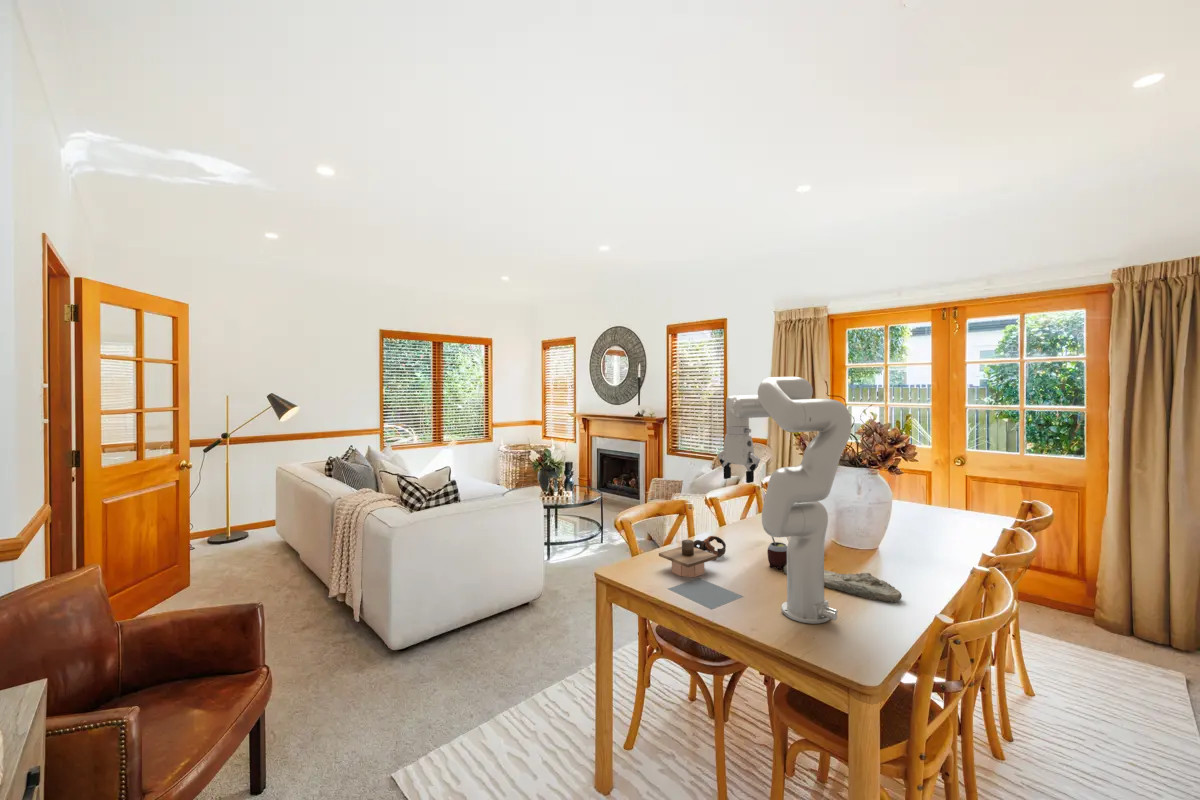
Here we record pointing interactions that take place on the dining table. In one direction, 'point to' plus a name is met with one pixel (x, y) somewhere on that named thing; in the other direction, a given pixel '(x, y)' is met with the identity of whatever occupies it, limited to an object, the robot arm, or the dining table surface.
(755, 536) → the dining table surface
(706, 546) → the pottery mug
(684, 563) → the lid
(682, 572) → the bowl
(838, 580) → the long grey stone
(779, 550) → the mate gourd
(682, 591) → the mat
